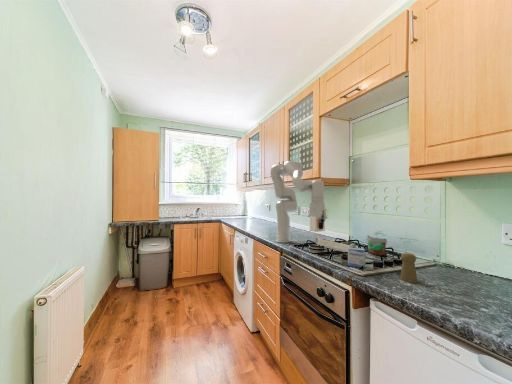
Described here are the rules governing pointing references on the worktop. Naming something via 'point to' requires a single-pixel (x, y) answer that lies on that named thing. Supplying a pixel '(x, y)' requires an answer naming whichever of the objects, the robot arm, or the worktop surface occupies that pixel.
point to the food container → (376, 246)
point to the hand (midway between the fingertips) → (317, 228)
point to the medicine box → (356, 257)
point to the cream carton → (315, 224)
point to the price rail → (333, 245)
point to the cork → (408, 268)
